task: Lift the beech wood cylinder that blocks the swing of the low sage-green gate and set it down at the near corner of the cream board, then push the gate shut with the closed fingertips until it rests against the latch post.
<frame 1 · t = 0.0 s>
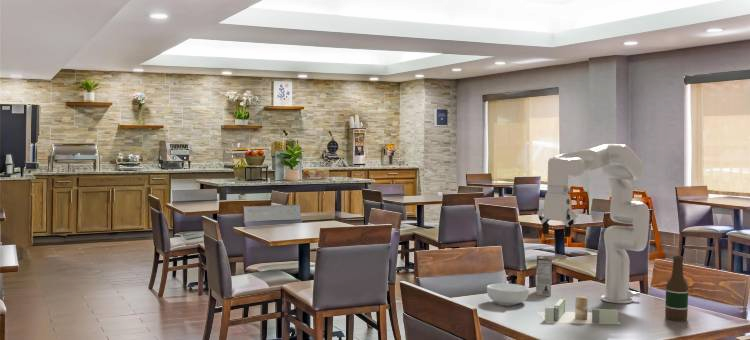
hand: (556, 235, 268), 31 cm above the table, tool pointing down, fingers open, 9 cm apart
beer bottle: (676, 319, 269), on the table
roller: (581, 318, 265), point 1 cm above the table, touching gate frame
gate frame: (577, 319, 266), on the table
cereal bowl: (507, 304, 290), on the table
coffee box: (543, 294, 310), on the table
gate: (559, 308, 268), point 3 cm above the table, hinge at 65.0°
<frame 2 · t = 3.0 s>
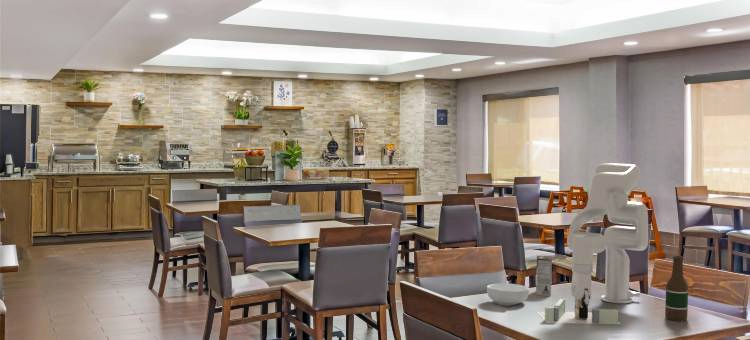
hand: (581, 316, 265), 2 cm above the table, tool pointing down, fingers closed on roller, 4 cm apart
roller: (581, 318, 265), point 1 cm above the table, touching gate frame, gripper
everything else where it was.
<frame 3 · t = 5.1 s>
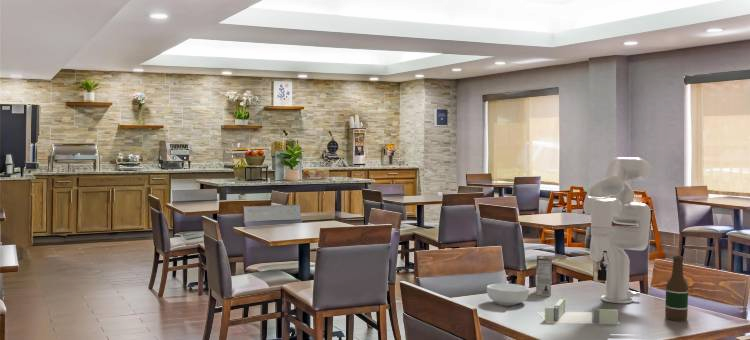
hand: (599, 278, 270), 15 cm above the table, tool pointing down, fingers closed on roller, 4 cm apart
roller: (599, 281, 270), point 14 cm above the table, touching gripper
everything else where it was.
when the fingers open (3 cm above the table, at t = 7.1 s): roller drops 1 cm, resting on gate frame.
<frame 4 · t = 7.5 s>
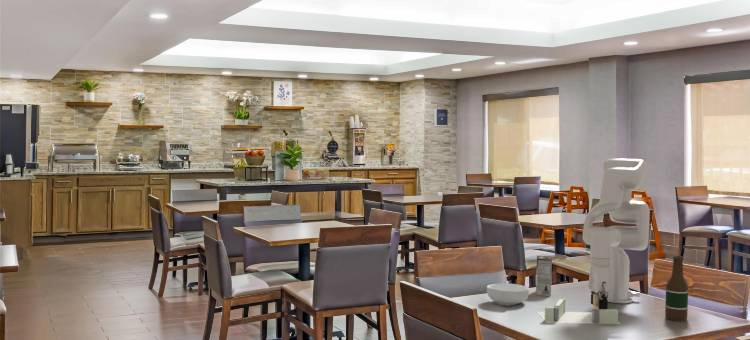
hand: (599, 306, 270), 4 cm above the table, tool pointing down, fingers open, 8 cm apart
roller: (598, 315, 270), point 1 cm above the table, touching gate frame
everything else where it was.
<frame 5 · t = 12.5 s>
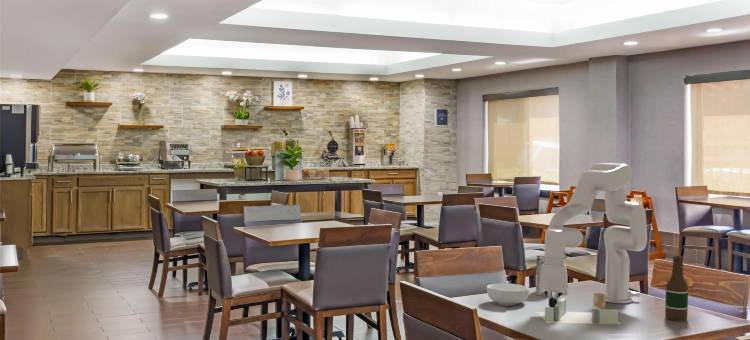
hand: (553, 308, 272), 2 cm above the table, tool pointing down, fingers closed
gate: (560, 308, 268), point 3 cm above the table, hinge at 63.6°, touching gripper
everything else where it was.
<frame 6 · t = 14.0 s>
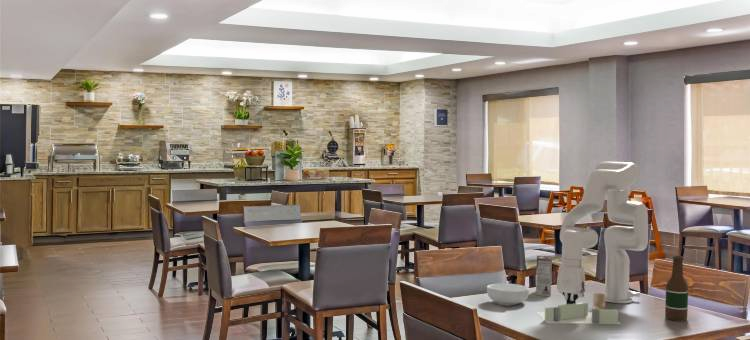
hand: (570, 310, 269), 3 cm above the table, tool pointing down, fingers closed
gate: (572, 310, 265), point 3 cm above the table, hinge at 27.4°, touching gripper
everything else where it was.
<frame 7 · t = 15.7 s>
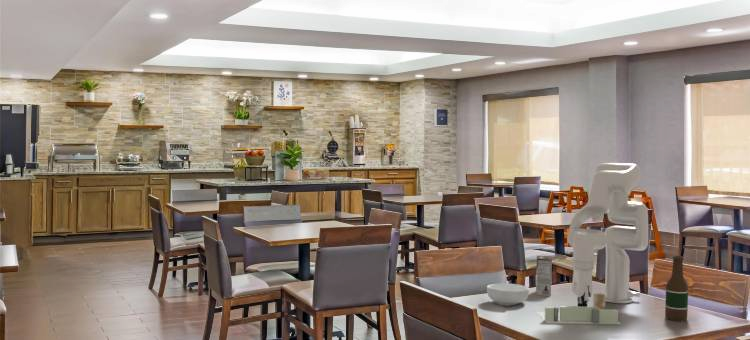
hand: (582, 313, 264), 3 cm above the table, tool pointing down, fingers closed
gate: (578, 313, 261), point 3 cm above the table, hinge at -1.2°, touching gate frame, gripper
everything else where it was.
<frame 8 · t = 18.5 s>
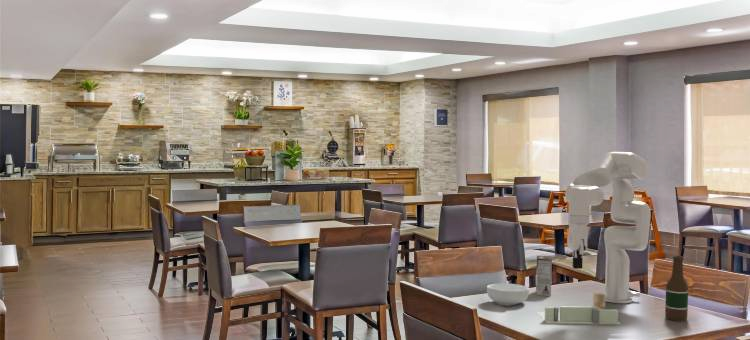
hand: (577, 268, 267), 19 cm above the table, tool pointing down, fingers closed
gate: (578, 313, 261), point 3 cm above the table, hinge at -1.1°
everything else where it was.
at the end: gate at -1° (first picture: +65°); roller inside the target area (0.1 cm from its centre), point 0.6 cm above the table; roller tilted 0° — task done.
